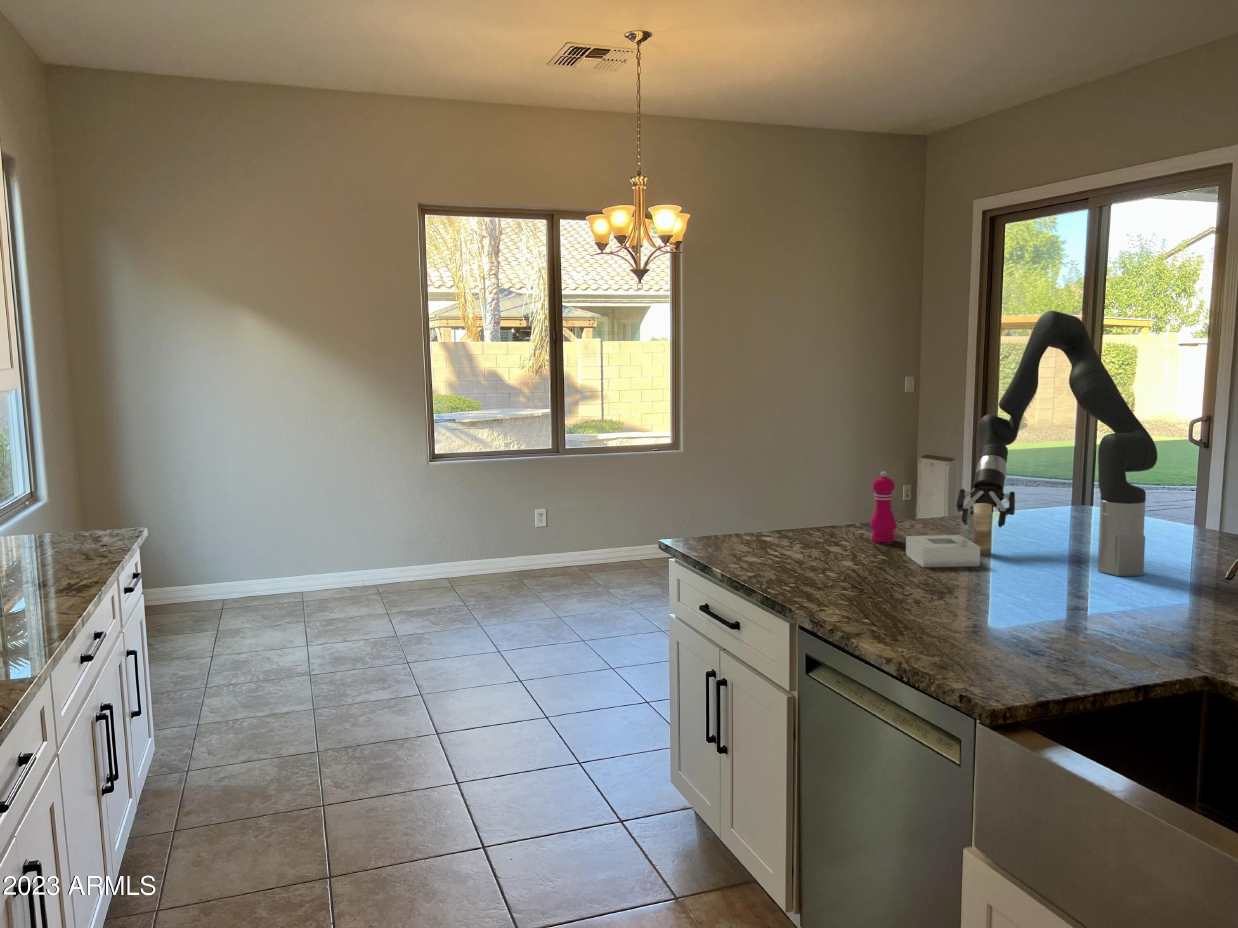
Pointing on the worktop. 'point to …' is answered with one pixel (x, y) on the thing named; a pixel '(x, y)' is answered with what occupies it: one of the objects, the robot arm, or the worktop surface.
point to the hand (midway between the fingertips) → (982, 524)
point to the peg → (982, 527)
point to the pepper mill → (883, 510)
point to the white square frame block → (942, 551)
